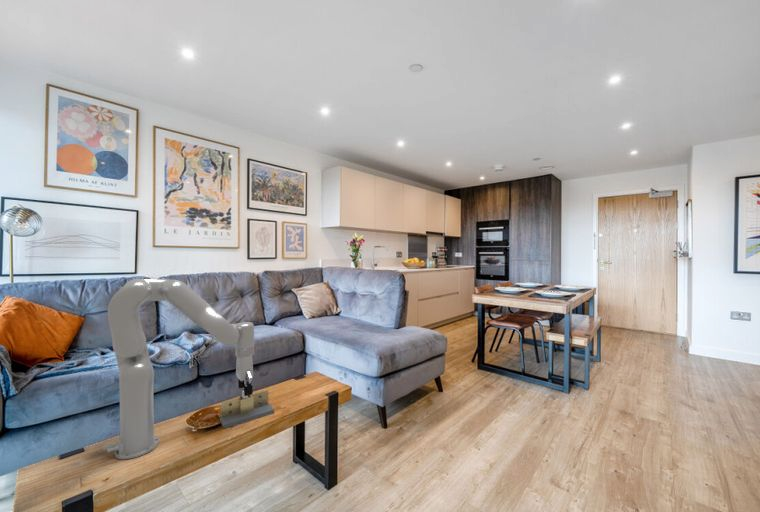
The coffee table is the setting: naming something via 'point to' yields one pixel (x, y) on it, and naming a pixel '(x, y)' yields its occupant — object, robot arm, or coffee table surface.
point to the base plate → (246, 416)
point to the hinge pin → (243, 395)
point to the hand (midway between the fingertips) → (245, 391)
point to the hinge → (244, 404)
